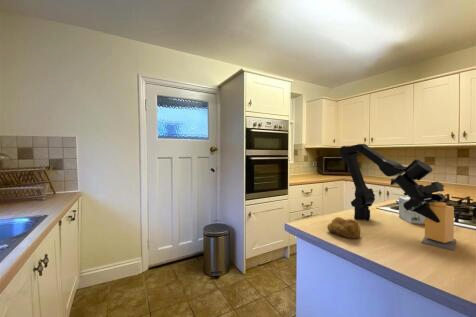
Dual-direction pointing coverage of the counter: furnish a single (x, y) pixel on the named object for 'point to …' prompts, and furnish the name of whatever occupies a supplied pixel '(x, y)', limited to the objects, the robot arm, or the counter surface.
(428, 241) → the plate
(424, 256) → the counter surface
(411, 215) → the light bulb box
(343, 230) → the bread roll
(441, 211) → the orange toy brick
